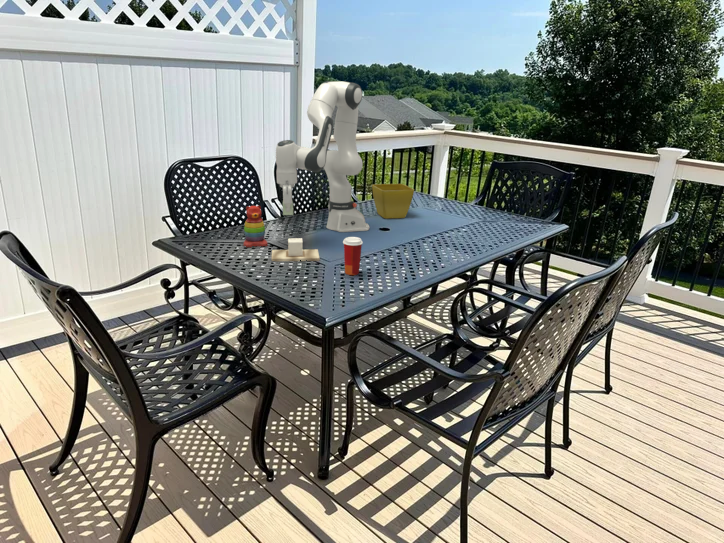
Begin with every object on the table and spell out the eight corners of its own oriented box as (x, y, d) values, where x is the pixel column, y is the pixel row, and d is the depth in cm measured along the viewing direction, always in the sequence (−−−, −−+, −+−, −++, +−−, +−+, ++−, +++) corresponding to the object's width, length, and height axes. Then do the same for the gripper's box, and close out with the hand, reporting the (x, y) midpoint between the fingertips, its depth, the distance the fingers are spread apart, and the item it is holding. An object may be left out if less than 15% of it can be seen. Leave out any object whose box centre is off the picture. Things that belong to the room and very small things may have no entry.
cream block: (302, 251, 224) (302, 238, 222) (302, 255, 218) (302, 242, 216) (288, 251, 223) (288, 238, 221) (288, 256, 217) (288, 242, 215)
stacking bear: (243, 247, 230) (242, 209, 224) (242, 241, 239) (240, 203, 233) (268, 246, 233) (266, 208, 227) (266, 240, 242) (264, 203, 236)
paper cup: (361, 269, 209) (362, 236, 204) (361, 276, 201) (363, 242, 196) (342, 269, 208) (342, 236, 203) (342, 276, 201) (342, 241, 196)
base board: (317, 251, 228) (317, 249, 228) (319, 260, 217) (319, 257, 216) (272, 252, 225) (272, 249, 225) (271, 261, 214) (271, 258, 214)
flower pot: (370, 212, 300) (371, 184, 294) (400, 211, 305) (402, 183, 299) (381, 220, 283) (382, 190, 277) (412, 219, 288) (414, 189, 282)
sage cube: (293, 212, 232) (292, 200, 230) (293, 214, 228) (292, 202, 226) (283, 212, 231) (282, 200, 229) (283, 215, 227) (282, 203, 225)
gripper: (294, 183, 215) (295, 215, 220) (293, 174, 234) (294, 204, 239) (279, 183, 214) (280, 215, 219) (279, 174, 233) (281, 204, 238)
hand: (288, 209), depth 229 cm, fingers closed on sage cube, 4 cm apart
